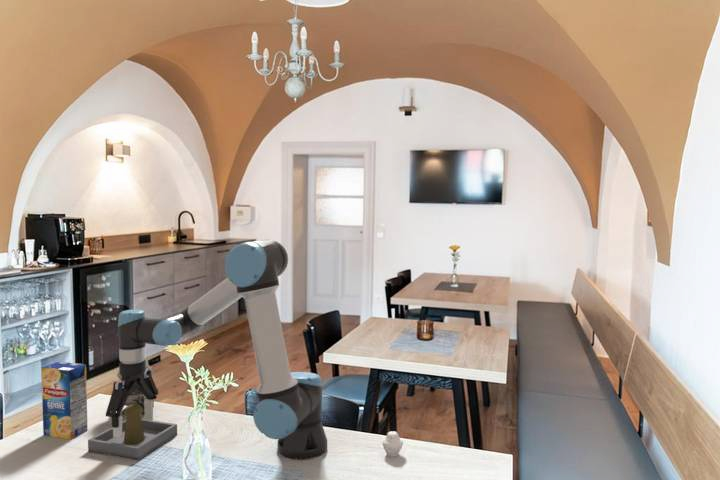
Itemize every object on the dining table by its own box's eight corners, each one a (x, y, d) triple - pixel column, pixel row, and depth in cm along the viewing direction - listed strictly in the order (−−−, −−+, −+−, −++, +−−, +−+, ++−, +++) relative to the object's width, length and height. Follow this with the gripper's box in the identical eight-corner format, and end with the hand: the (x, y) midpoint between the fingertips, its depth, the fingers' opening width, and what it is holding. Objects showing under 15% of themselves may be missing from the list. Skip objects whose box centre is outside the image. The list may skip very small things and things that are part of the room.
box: (177, 434, 170) (177, 424, 170) (138, 460, 153) (137, 448, 152) (131, 427, 175) (130, 417, 175) (88, 451, 158) (87, 439, 158)
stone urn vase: (135, 403, 197) (134, 355, 196) (161, 407, 193) (161, 358, 192) (110, 415, 185) (109, 364, 184) (137, 420, 181) (136, 368, 180)
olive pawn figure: (137, 445, 160) (136, 410, 160) (119, 443, 162) (118, 408, 161) (148, 436, 166) (147, 402, 166) (131, 435, 167) (130, 401, 167)
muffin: (400, 460, 154) (400, 437, 153) (379, 457, 156) (380, 434, 155) (404, 451, 160) (405, 428, 159) (385, 448, 162) (385, 425, 161)
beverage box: (71, 439, 166) (69, 370, 165) (43, 435, 169) (41, 367, 168) (87, 430, 173) (86, 364, 171) (60, 426, 176) (58, 361, 174)
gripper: (149, 349, 175) (151, 411, 177) (90, 371, 152) (92, 443, 153) (169, 351, 173) (170, 414, 174) (112, 374, 149) (113, 447, 151)
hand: (134, 428), depth 164 cm, fingers open, 13 cm apart
